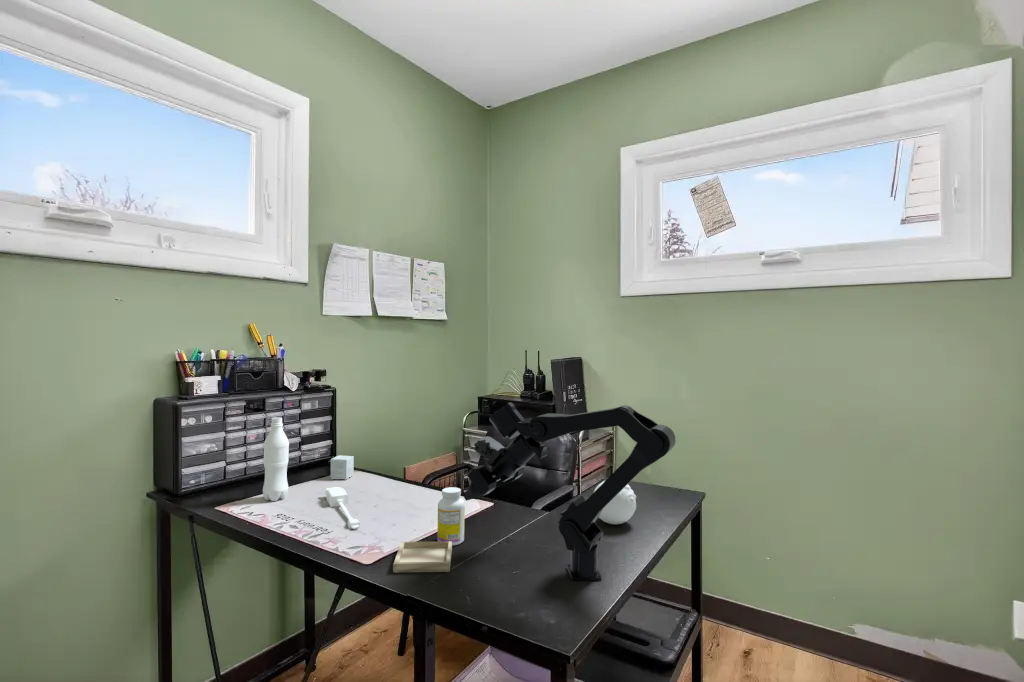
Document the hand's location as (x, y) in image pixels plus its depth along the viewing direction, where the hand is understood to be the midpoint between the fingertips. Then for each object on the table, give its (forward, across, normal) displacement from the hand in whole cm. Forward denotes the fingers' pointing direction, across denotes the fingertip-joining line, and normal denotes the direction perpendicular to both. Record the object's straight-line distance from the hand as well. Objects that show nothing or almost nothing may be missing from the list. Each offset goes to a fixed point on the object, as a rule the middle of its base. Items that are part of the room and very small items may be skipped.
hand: (475, 493), depth 122 cm
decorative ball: (-8, -33, +27) cm, 43 cm away
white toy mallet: (+43, -3, -23) cm, 49 cm away
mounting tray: (+13, +12, +5) cm, 19 cm away
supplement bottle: (+14, 0, +4) cm, 15 cm away
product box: (+61, -28, -42) cm, 79 cm away
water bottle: (+61, 0, -42) cm, 74 cm away
